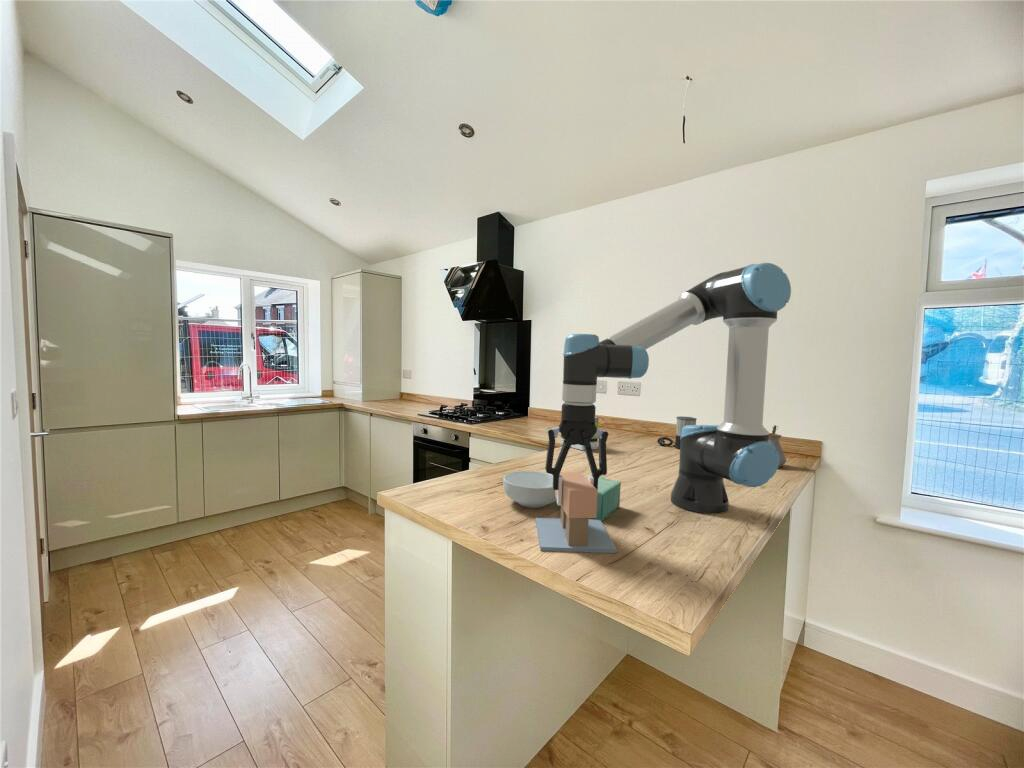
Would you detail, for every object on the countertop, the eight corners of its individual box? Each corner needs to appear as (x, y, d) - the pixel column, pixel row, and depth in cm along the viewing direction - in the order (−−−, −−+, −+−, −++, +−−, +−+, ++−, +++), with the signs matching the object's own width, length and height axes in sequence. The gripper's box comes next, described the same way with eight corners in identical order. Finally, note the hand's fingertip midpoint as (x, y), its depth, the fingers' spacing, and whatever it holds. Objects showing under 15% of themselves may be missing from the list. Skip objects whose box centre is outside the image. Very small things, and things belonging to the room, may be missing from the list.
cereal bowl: (547, 519, 105) (548, 491, 104) (491, 505, 113) (491, 480, 112) (571, 500, 120) (572, 476, 119) (520, 489, 128) (521, 467, 127)
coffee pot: (784, 470, 163) (787, 432, 162) (750, 465, 170) (753, 428, 169) (788, 461, 180) (791, 426, 179) (758, 456, 187) (760, 423, 186)
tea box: (598, 449, 191) (599, 417, 190) (582, 451, 185) (583, 418, 184) (575, 442, 203) (576, 412, 203) (559, 444, 198) (561, 413, 197)
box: (574, 514, 109) (576, 486, 108) (595, 501, 120) (596, 475, 119) (601, 522, 104) (603, 492, 104) (619, 507, 116) (621, 481, 115)
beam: (579, 496, 102) (580, 472, 102) (596, 517, 88) (597, 490, 88) (555, 496, 102) (555, 471, 101) (568, 518, 88) (569, 490, 87)
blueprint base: (599, 522, 103) (601, 496, 103) (616, 552, 88) (618, 521, 87) (535, 520, 103) (536, 493, 103) (540, 550, 87) (541, 518, 87)
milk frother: (698, 451, 195) (700, 419, 194) (664, 449, 195) (666, 418, 194) (686, 444, 209) (688, 415, 208) (654, 443, 209) (656, 414, 208)
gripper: (617, 402, 97) (612, 499, 99) (534, 400, 97) (531, 497, 99) (626, 406, 90) (620, 511, 91) (537, 403, 90) (533, 508, 91)
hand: (574, 503), depth 95 cm, fingers closed on beam, 6 cm apart
